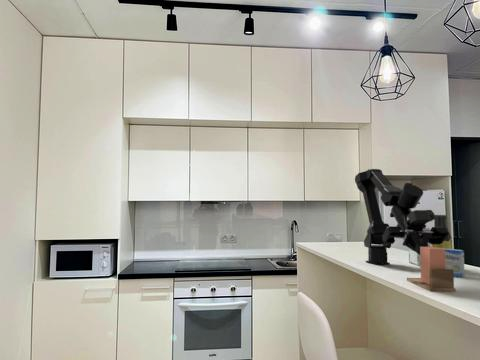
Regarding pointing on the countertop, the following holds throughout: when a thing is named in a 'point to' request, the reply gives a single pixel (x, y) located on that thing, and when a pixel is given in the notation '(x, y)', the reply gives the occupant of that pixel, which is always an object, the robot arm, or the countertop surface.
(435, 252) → the pink tall block
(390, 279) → the countertop surface
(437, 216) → the sauce bottle
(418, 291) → the countertop surface
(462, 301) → the countertop surface
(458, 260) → the medicine box
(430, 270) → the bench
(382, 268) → the countertop surface
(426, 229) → the syrup box
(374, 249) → the robot arm
